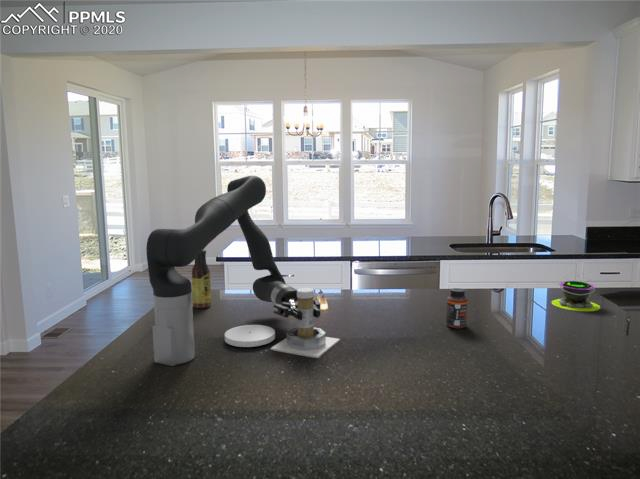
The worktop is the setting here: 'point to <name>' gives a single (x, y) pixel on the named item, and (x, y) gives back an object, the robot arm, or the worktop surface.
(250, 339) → the plastic lid
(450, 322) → the supplement bottle
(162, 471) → the worktop surface
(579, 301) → the toy cauldron
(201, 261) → the sauce bottle
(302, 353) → the base plate
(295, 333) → the ring
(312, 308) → the sprinkles bottle
